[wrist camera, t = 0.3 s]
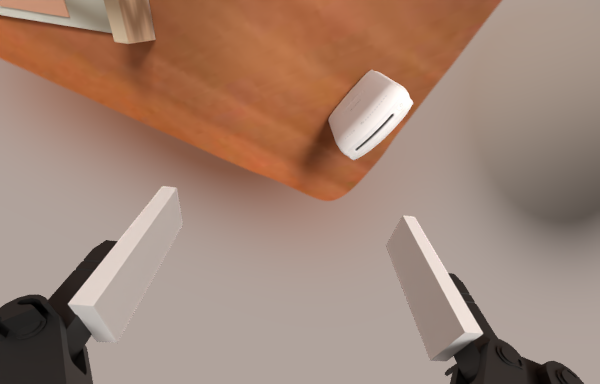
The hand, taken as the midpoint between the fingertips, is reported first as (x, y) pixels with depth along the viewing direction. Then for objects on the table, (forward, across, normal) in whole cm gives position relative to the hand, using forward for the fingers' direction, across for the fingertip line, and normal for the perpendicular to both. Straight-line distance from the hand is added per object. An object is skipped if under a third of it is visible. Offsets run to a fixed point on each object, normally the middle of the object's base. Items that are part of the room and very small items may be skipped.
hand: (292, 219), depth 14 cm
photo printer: (+28, +9, +1) cm, 29 cm away
